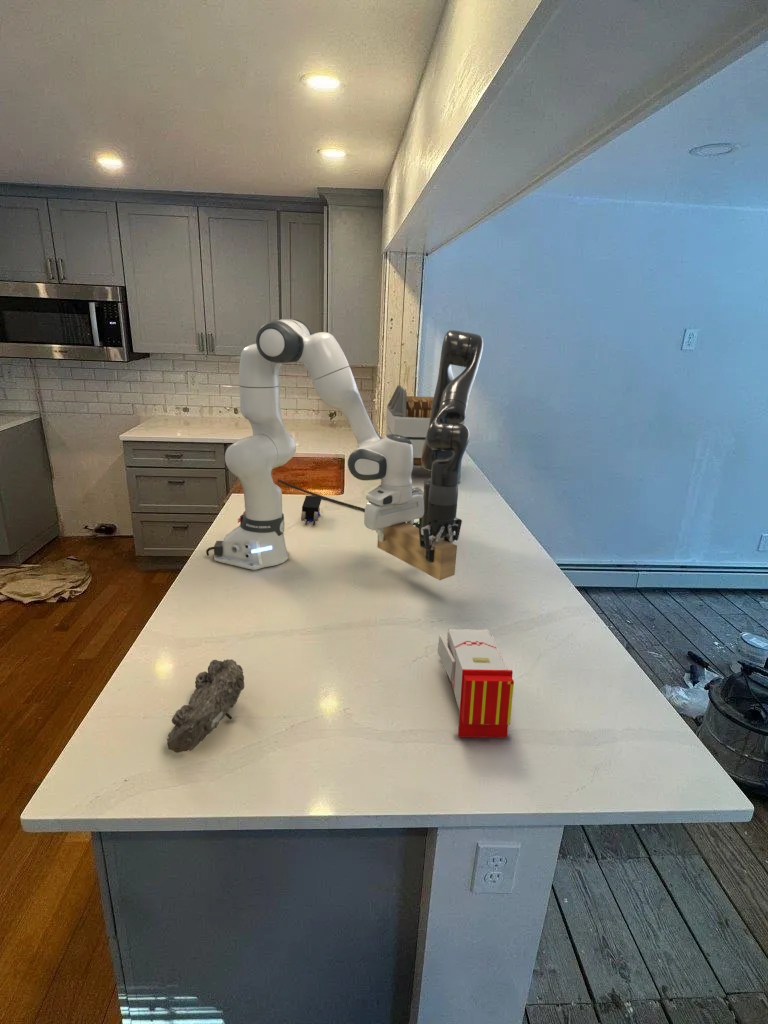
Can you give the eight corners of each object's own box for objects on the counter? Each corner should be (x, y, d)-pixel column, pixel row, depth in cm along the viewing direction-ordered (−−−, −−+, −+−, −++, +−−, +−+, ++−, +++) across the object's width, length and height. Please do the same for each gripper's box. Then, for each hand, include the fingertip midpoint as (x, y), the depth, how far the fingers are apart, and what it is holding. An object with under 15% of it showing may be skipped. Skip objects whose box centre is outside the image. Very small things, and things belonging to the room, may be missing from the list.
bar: (454, 575, 153) (457, 545, 150) (439, 580, 149) (442, 550, 147) (391, 543, 172) (393, 516, 169) (377, 547, 168) (378, 520, 165)
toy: (488, 613, 130) (523, 677, 101) (484, 667, 133) (517, 744, 104) (435, 612, 130) (455, 676, 101) (432, 666, 133) (451, 743, 103)
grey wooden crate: (382, 463, 289) (386, 382, 275) (445, 464, 293) (451, 384, 279) (390, 482, 257) (394, 392, 243) (460, 483, 261) (468, 394, 247)
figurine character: (319, 531, 202) (322, 512, 216) (318, 512, 199) (322, 494, 212) (300, 530, 202) (304, 511, 216) (299, 511, 199) (304, 493, 212)
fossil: (192, 660, 117) (244, 628, 112) (224, 691, 120) (276, 661, 115) (142, 746, 98) (202, 712, 93) (182, 779, 101) (242, 748, 96)
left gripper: (415, 483, 170) (413, 526, 174) (361, 495, 157) (360, 541, 162) (430, 488, 165) (427, 533, 170) (375, 501, 153) (374, 548, 157)
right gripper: (451, 491, 154) (446, 548, 160) (412, 500, 145) (408, 560, 151) (472, 498, 149) (466, 557, 154) (433, 508, 140) (428, 570, 145)
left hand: (394, 537), depth 166 cm, fingers open, 8 cm apart
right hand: (438, 558), depth 153 cm, fingers closed on bar, 5 cm apart
